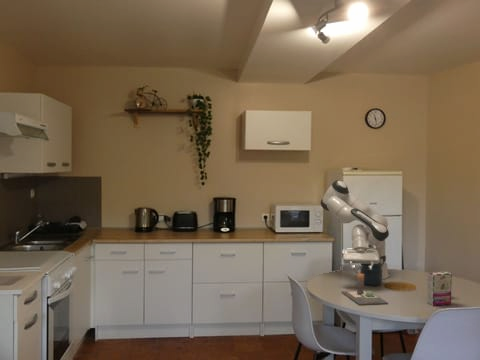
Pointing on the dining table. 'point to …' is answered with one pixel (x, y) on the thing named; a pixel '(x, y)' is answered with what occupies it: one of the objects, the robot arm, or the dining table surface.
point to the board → (364, 298)
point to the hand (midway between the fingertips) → (361, 269)
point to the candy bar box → (439, 288)
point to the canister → (372, 274)
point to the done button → (369, 293)
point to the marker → (360, 284)
